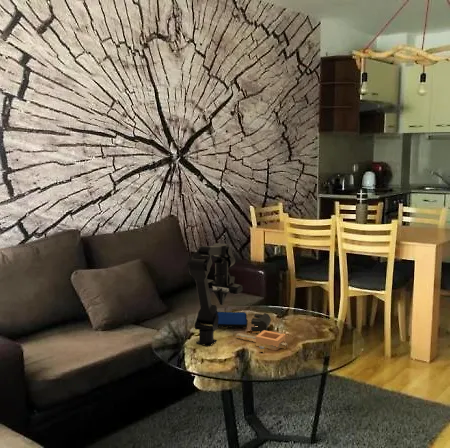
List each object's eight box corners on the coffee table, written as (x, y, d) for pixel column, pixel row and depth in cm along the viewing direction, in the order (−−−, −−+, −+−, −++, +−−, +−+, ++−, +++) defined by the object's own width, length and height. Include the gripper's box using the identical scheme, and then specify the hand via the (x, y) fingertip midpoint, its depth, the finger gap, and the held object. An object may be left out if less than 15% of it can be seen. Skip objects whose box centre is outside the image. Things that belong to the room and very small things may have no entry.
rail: (276, 356, 223) (277, 350, 223) (227, 345, 234) (227, 339, 234) (294, 341, 239) (294, 335, 238) (247, 331, 250) (247, 325, 250)
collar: (277, 351, 229) (277, 340, 228) (255, 346, 233) (255, 336, 233) (285, 344, 235) (285, 334, 235) (263, 340, 240) (263, 330, 239)
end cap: (266, 335, 245) (266, 320, 244) (251, 334, 247) (251, 319, 246) (270, 327, 255) (271, 313, 253) (255, 326, 256) (255, 311, 255)
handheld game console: (247, 321, 263) (247, 302, 261) (246, 332, 250) (246, 312, 248) (214, 320, 264) (214, 301, 262) (211, 331, 251) (211, 311, 249)
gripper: (248, 269, 251) (248, 303, 254) (213, 264, 261) (213, 296, 263) (236, 275, 242) (236, 310, 245) (200, 270, 251) (200, 303, 254)
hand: (221, 304), depth 252 cm, fingers closed
